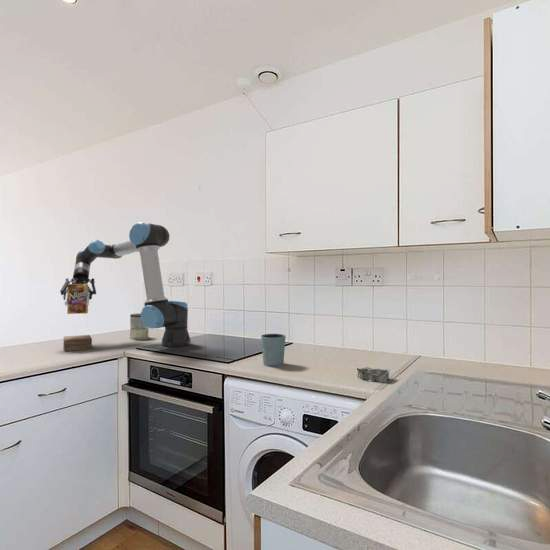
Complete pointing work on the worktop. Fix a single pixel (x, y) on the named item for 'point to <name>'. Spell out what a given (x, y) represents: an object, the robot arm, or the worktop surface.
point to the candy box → (77, 298)
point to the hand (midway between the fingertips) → (76, 303)
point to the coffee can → (138, 327)
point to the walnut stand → (77, 342)
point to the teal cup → (273, 349)
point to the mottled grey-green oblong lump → (373, 374)
